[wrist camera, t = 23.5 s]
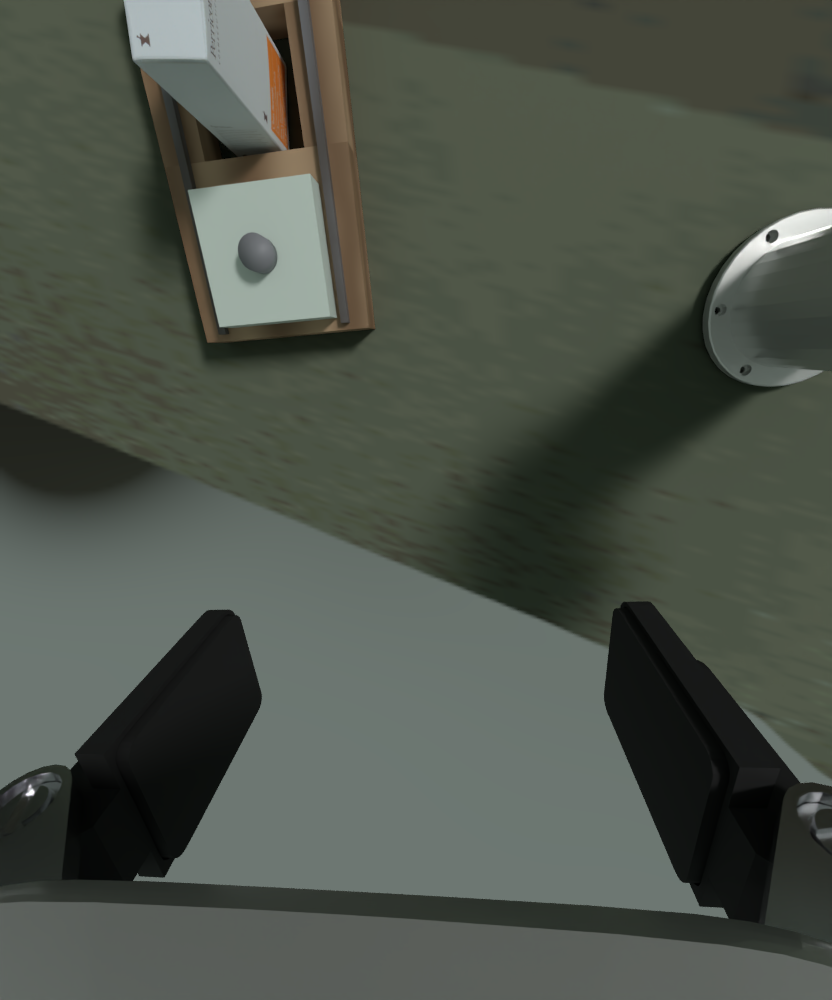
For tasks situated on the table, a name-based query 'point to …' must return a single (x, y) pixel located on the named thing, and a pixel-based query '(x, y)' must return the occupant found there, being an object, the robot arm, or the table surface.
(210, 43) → the skincare box
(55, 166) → the table surface
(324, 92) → the brown wooden sliding box
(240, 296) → the lid
